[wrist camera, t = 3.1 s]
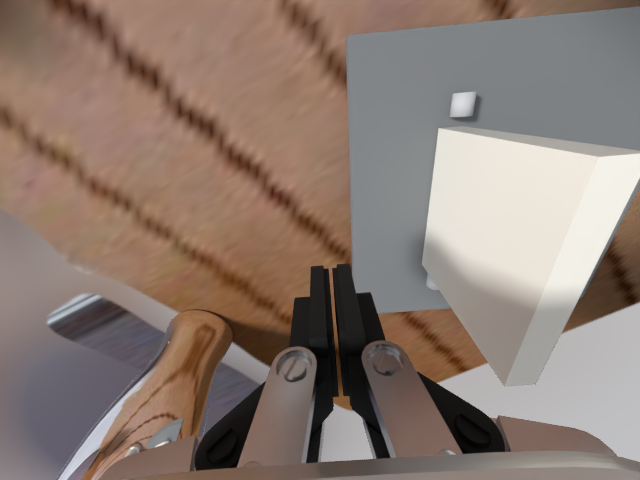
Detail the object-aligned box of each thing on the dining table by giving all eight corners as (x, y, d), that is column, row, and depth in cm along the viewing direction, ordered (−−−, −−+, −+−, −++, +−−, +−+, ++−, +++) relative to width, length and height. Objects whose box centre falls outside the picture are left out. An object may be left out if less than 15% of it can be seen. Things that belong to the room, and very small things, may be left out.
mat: (345, 40, 15) (351, 28, 12) (705, 4, 14) (773, -13, 12) (353, 305, 24) (356, 325, 22) (570, 289, 23) (595, 307, 21)
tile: (438, 128, 16) (599, 156, 7) (464, 125, 16) (659, 151, 7) (421, 264, 20) (504, 386, 11) (442, 262, 20) (540, 383, 11)
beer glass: (245, 318, 24) (165, 570, 11) (228, 362, 27) (146, 605, 14) (170, 296, 23) (-24, 556, 10) (160, 346, 26) (-1, 597, 13)
